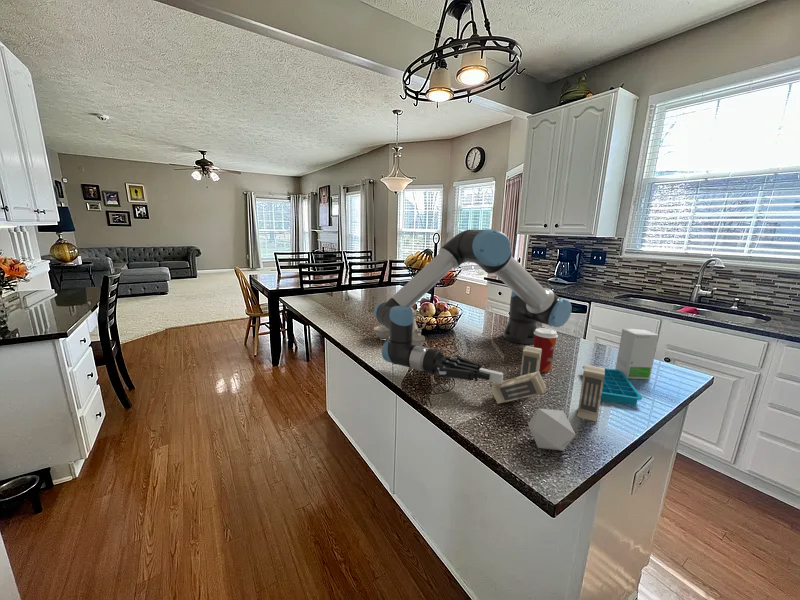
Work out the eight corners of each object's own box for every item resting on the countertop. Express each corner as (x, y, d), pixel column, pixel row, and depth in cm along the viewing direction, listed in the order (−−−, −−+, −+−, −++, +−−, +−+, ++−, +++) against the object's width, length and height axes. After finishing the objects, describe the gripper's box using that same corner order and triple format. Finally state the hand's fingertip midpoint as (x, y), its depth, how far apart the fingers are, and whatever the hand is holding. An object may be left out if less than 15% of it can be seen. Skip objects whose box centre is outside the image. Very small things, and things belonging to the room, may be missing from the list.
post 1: (495, 382, 95) (538, 371, 88) (501, 396, 95) (546, 386, 88) (490, 389, 91) (535, 377, 84) (497, 404, 91) (543, 394, 84)
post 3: (578, 408, 89) (584, 364, 86) (597, 413, 87) (604, 368, 84) (577, 417, 85) (583, 370, 82) (596, 422, 83) (604, 375, 80)
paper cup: (555, 374, 110) (561, 335, 107) (531, 372, 112) (536, 333, 109) (550, 365, 118) (554, 328, 115) (527, 363, 119) (531, 326, 116)
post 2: (521, 385, 102) (526, 345, 99) (537, 388, 100) (541, 348, 97) (518, 391, 98) (522, 350, 95) (534, 395, 96) (539, 353, 93)
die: (562, 468, 68) (589, 428, 68) (524, 440, 69) (551, 401, 70) (550, 455, 76) (574, 419, 76) (516, 430, 78) (540, 395, 78)
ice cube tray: (619, 378, 109) (621, 370, 108) (642, 409, 90) (644, 399, 89) (581, 373, 112) (582, 365, 112) (594, 401, 94) (596, 392, 93)
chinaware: (366, 343, 141) (363, 307, 136) (390, 330, 154) (388, 297, 149) (421, 359, 125) (420, 319, 120) (442, 343, 138) (442, 306, 133)
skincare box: (625, 379, 108) (634, 334, 104) (613, 370, 114) (620, 328, 111) (651, 379, 108) (660, 334, 104) (637, 371, 114) (645, 328, 111)
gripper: (435, 364, 109) (507, 381, 97) (416, 378, 98) (494, 400, 86) (436, 342, 108) (509, 358, 96) (417, 355, 97) (496, 374, 85)
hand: (502, 378), depth 91 cm, fingers closed
